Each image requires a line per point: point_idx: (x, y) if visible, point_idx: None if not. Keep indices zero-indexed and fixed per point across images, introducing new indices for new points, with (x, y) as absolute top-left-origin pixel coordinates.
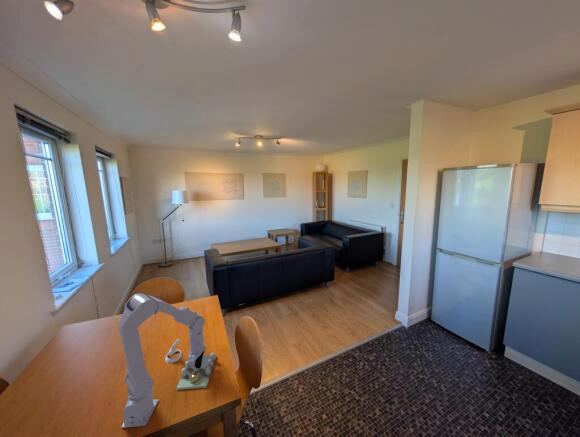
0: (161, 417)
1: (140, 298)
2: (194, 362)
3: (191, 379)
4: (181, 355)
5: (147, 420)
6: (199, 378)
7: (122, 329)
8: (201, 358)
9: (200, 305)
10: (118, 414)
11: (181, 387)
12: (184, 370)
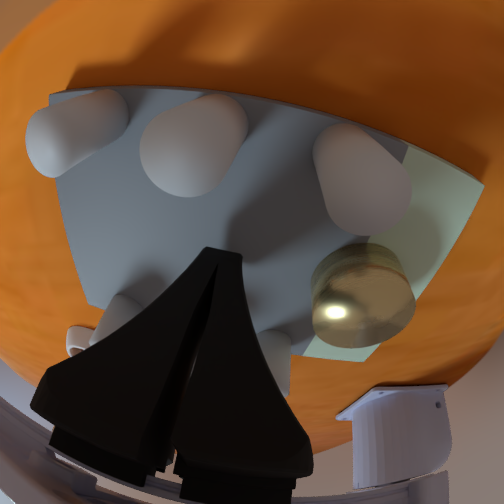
0: (459, 359)
1: None
2: (441, 501)
3: (396, 329)
4: (89, 334)
5: (441, 388)
6: (379, 247)
7: None
8: (307, 440)
9: None
10: (350, 425)
11: (379, 344)
12: (283, 391)
